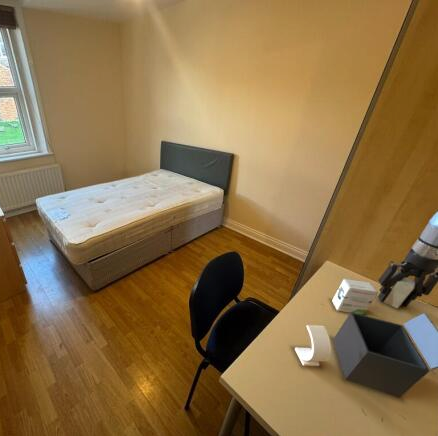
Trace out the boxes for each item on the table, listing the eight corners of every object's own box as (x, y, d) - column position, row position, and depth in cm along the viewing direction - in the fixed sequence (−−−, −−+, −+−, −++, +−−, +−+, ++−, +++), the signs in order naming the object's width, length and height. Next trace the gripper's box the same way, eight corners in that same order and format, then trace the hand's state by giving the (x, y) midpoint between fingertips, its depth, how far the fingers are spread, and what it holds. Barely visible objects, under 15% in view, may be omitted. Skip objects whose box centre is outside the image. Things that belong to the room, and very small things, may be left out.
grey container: (379, 352, 72) (402, 325, 65) (399, 398, 61) (430, 371, 55) (333, 339, 76) (350, 311, 69) (345, 379, 65) (367, 352, 59)
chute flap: (403, 323, 65) (404, 324, 65) (430, 368, 54) (432, 369, 54) (424, 312, 61) (425, 313, 61) (457, 359, 51) (459, 360, 51)
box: (385, 295, 91) (399, 274, 85) (400, 301, 88) (416, 280, 82) (382, 302, 88) (397, 281, 82) (397, 309, 85) (414, 288, 80)
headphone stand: (309, 349, 73) (323, 325, 67) (320, 369, 68) (337, 345, 62) (294, 348, 73) (307, 325, 67) (304, 369, 68) (319, 345, 62)
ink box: (357, 304, 87) (371, 282, 82) (364, 315, 83) (380, 292, 77) (331, 300, 89) (343, 277, 84) (336, 310, 85) (350, 287, 79)
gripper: (395, 254, 77) (364, 301, 88) (475, 268, 70) (430, 317, 82) (385, 241, 83) (357, 287, 94) (458, 253, 76) (418, 301, 88)
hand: (391, 301), depth 88 cm, fingers closed on box, 6 cm apart
